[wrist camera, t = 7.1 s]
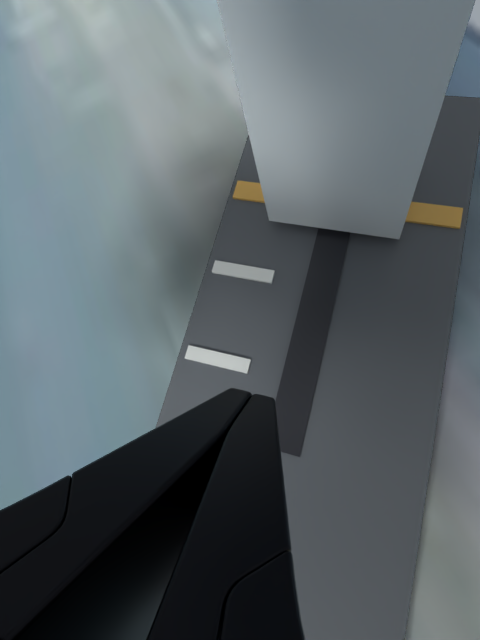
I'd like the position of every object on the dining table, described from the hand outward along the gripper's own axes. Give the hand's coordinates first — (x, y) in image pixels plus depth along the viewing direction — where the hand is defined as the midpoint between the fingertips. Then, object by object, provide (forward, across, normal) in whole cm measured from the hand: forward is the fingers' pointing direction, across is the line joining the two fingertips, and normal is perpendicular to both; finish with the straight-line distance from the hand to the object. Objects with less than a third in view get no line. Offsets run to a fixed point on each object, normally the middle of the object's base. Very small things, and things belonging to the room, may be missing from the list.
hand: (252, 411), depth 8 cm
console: (+8, 0, +3) cm, 9 cm away
